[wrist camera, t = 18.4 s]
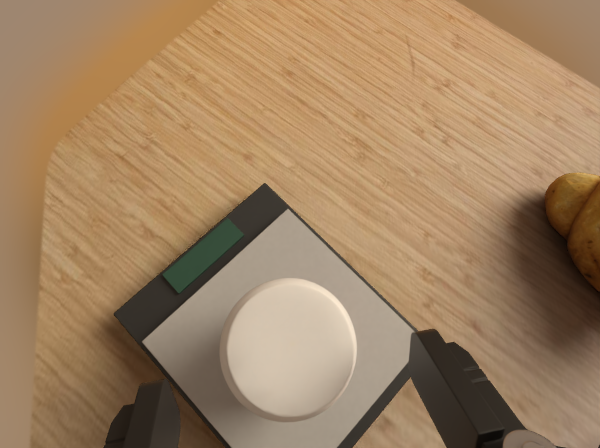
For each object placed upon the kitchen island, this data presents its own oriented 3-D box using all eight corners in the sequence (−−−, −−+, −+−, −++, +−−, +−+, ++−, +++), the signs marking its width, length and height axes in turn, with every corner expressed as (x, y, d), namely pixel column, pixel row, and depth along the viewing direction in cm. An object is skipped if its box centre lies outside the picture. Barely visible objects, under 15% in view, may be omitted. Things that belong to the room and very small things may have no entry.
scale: (288, 509, 23) (290, 532, 21) (124, 315, 26) (105, 312, 24) (424, 346, 27) (441, 347, 24) (265, 192, 30) (264, 176, 27)
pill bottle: (351, 343, 24) (411, 345, 13) (285, 418, 22) (292, 490, 12) (285, 277, 25) (291, 230, 14) (218, 345, 23) (168, 349, 13)
